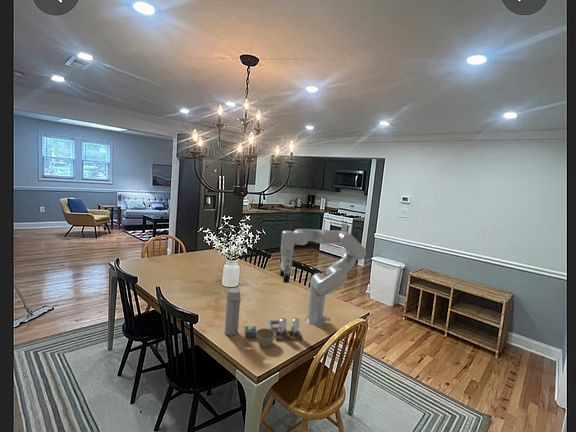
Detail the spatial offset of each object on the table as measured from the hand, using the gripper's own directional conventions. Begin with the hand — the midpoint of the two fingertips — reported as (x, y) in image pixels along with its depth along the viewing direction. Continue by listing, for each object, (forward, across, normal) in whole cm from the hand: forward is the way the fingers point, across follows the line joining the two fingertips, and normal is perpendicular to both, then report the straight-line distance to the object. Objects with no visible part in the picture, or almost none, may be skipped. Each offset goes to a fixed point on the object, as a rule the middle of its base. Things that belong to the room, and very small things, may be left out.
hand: (284, 279), depth 183 cm
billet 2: (+27, -17, -4) cm, 32 cm away
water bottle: (+28, -10, +30) cm, 42 cm away
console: (+28, -13, +20) cm, 37 cm away
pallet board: (+28, -17, -1) cm, 33 cm away
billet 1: (+27, -16, +3) cm, 32 cm away
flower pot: (+28, -23, +13) cm, 39 cm away
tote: (+28, -5, +3) cm, 29 cm away
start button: (+26, -13, +20) cm, 35 cm away
